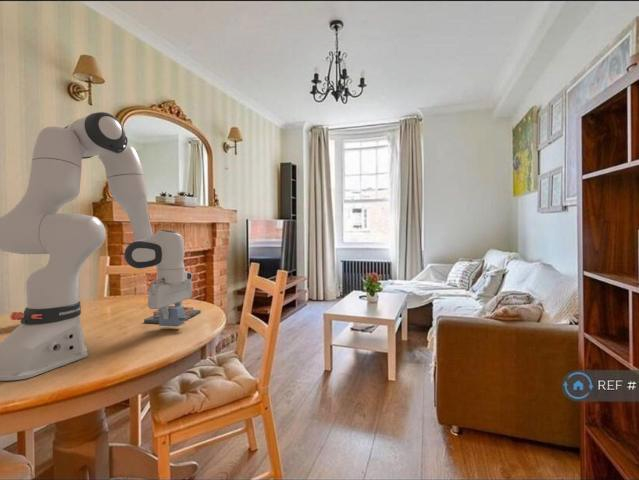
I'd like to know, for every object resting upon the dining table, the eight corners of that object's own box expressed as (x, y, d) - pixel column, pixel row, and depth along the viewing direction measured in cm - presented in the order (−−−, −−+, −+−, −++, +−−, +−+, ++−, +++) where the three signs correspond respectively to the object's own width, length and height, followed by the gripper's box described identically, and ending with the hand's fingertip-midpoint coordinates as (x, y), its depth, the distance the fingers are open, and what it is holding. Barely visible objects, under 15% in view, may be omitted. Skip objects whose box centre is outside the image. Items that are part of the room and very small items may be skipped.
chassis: (179, 323, 123) (179, 315, 123) (144, 322, 125) (143, 314, 124) (200, 313, 138) (200, 305, 138) (169, 312, 140) (168, 304, 140)
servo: (184, 326, 114) (184, 309, 114) (152, 325, 116) (152, 308, 116) (191, 323, 118) (190, 306, 117) (160, 322, 120) (159, 305, 120)
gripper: (160, 281, 106) (160, 325, 106) (195, 273, 126) (195, 310, 126) (142, 280, 107) (143, 324, 107) (179, 273, 127) (180, 309, 127)
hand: (171, 316), depth 117 cm, fingers closed on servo, 4 cm apart
